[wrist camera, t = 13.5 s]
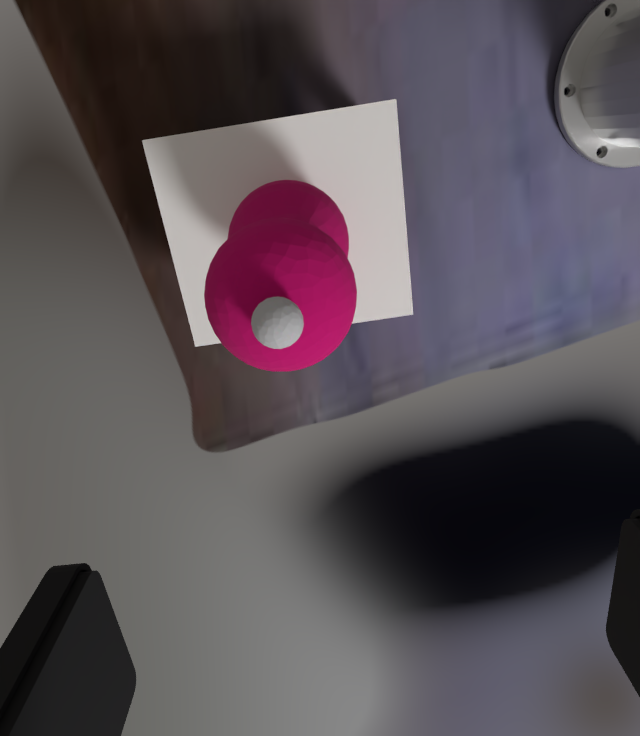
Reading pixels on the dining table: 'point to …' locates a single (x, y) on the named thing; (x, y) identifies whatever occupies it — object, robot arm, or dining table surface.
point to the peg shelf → (289, 162)
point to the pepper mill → (282, 278)
